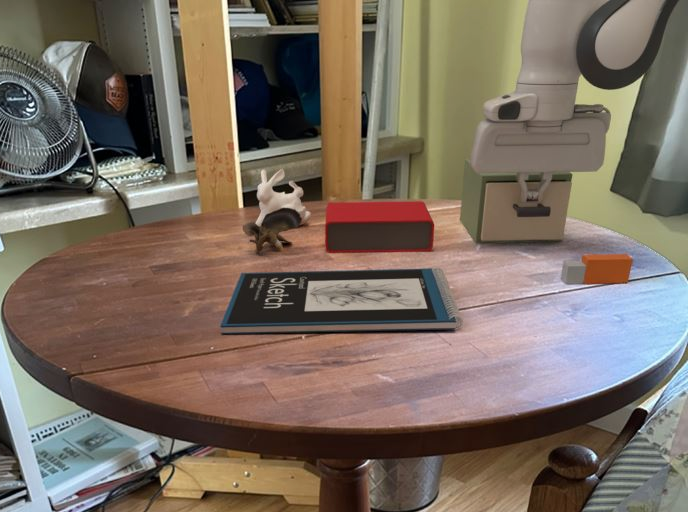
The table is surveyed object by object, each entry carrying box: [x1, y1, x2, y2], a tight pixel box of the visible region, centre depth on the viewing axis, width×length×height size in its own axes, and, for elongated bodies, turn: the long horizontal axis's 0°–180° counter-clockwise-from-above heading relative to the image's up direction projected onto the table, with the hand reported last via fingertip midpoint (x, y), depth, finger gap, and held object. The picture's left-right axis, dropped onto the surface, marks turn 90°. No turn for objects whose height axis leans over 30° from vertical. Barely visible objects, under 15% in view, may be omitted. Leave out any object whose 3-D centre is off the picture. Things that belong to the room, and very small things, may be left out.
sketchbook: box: [219, 266, 464, 335], centre depth 95 cm, size 22×30×2 cm
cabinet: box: [459, 158, 573, 244], centre depth 124 cm, size 17×15×11 cm
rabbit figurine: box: [254, 168, 312, 227], centre depth 131 cm, size 12×8×10 cm, turn 95°
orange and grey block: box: [560, 253, 634, 285], centre depth 101 cm, size 9×3×4 cm, turn 90°
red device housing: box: [324, 200, 435, 254], centre depth 121 cm, size 18×14×5 cm
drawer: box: [481, 180, 573, 241], centre depth 120 cm, size 21×14×9 cm, turn 0°
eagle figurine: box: [241, 207, 302, 255], centre depth 118 cm, size 8×7×9 cm
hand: (530, 202), depth 112 cm, fingers closed
